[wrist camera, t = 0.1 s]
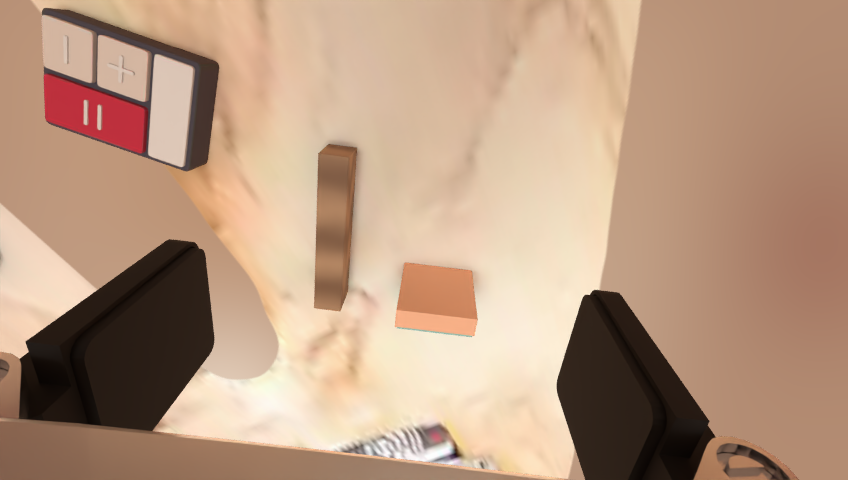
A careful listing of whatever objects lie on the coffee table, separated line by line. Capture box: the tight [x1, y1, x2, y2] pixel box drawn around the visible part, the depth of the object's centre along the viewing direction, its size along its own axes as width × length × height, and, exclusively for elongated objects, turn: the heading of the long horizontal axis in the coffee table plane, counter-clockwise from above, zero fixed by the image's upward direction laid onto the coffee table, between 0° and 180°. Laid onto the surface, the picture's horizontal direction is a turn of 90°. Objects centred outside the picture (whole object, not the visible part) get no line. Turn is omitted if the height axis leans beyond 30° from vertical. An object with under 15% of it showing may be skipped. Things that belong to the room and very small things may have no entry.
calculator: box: [42, 8, 219, 171], centre depth 43 cm, size 11×4×15 cm
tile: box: [395, 263, 478, 337], centre depth 48 cm, size 2×8×10 cm, turn 83°
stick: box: [314, 144, 357, 311], centre depth 48 cm, size 18×3×4 cm, turn 172°
